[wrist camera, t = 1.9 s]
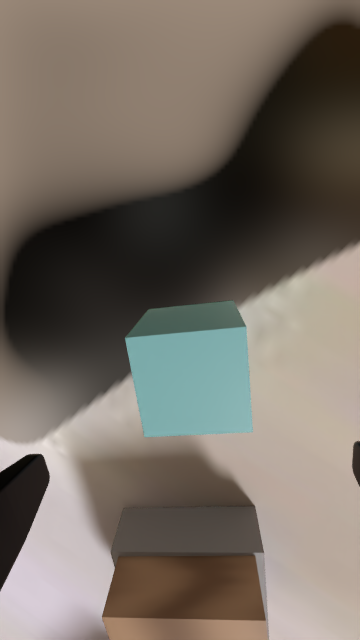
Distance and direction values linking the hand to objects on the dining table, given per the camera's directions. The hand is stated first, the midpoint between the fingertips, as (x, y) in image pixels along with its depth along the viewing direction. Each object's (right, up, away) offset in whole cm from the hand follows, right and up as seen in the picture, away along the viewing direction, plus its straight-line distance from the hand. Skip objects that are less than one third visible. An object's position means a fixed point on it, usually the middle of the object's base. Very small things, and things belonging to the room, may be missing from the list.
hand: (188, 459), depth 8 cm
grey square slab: (+1, -15, +14) cm, 20 cm away
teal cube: (+1, +3, +9) cm, 9 cm away
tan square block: (+1, -16, +11) cm, 19 cm away
